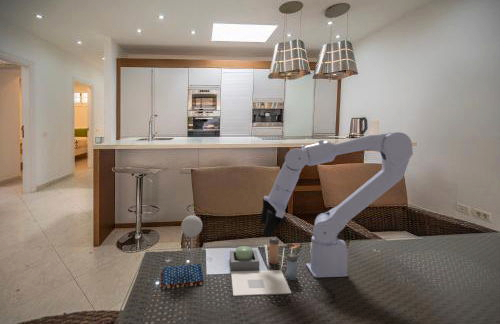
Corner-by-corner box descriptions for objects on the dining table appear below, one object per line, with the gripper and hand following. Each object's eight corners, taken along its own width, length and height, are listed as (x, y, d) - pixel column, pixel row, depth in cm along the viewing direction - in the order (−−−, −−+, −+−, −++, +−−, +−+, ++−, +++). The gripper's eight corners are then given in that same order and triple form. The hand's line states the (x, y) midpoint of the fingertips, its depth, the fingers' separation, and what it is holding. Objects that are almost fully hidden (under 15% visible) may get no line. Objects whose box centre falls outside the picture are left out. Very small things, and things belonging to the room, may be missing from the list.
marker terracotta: (277, 259, 90) (277, 237, 90) (279, 263, 88) (279, 240, 87) (267, 259, 90) (268, 237, 90) (269, 264, 87) (270, 241, 87)
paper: (280, 270, 83) (280, 270, 83) (291, 293, 71) (291, 292, 71) (231, 272, 82) (231, 271, 82) (233, 296, 70) (233, 295, 70)
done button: (251, 255, 89) (251, 246, 89) (253, 262, 85) (253, 252, 84) (235, 256, 89) (235, 246, 89) (236, 262, 84) (236, 252, 84)
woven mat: (162, 272, 82) (162, 265, 82) (200, 268, 85) (200, 262, 84) (160, 292, 72) (160, 284, 72) (204, 287, 74) (204, 279, 74)
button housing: (255, 258, 91) (255, 250, 91) (259, 269, 83) (259, 261, 83) (229, 258, 90) (229, 250, 90) (230, 270, 83) (231, 262, 82)
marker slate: (295, 274, 81) (295, 253, 80) (298, 279, 78) (298, 257, 77) (284, 275, 81) (285, 253, 80) (287, 280, 78) (288, 258, 77)
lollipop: (197, 273, 81) (197, 219, 79) (177, 270, 82) (177, 218, 80) (205, 263, 87) (205, 213, 85) (186, 261, 88) (186, 212, 87)
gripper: (267, 175, 91) (250, 214, 93) (274, 191, 77) (254, 236, 79) (287, 183, 92) (270, 221, 94) (299, 200, 78) (278, 244, 80)
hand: (264, 228), depth 87 cm, fingers open, 7 cm apart
